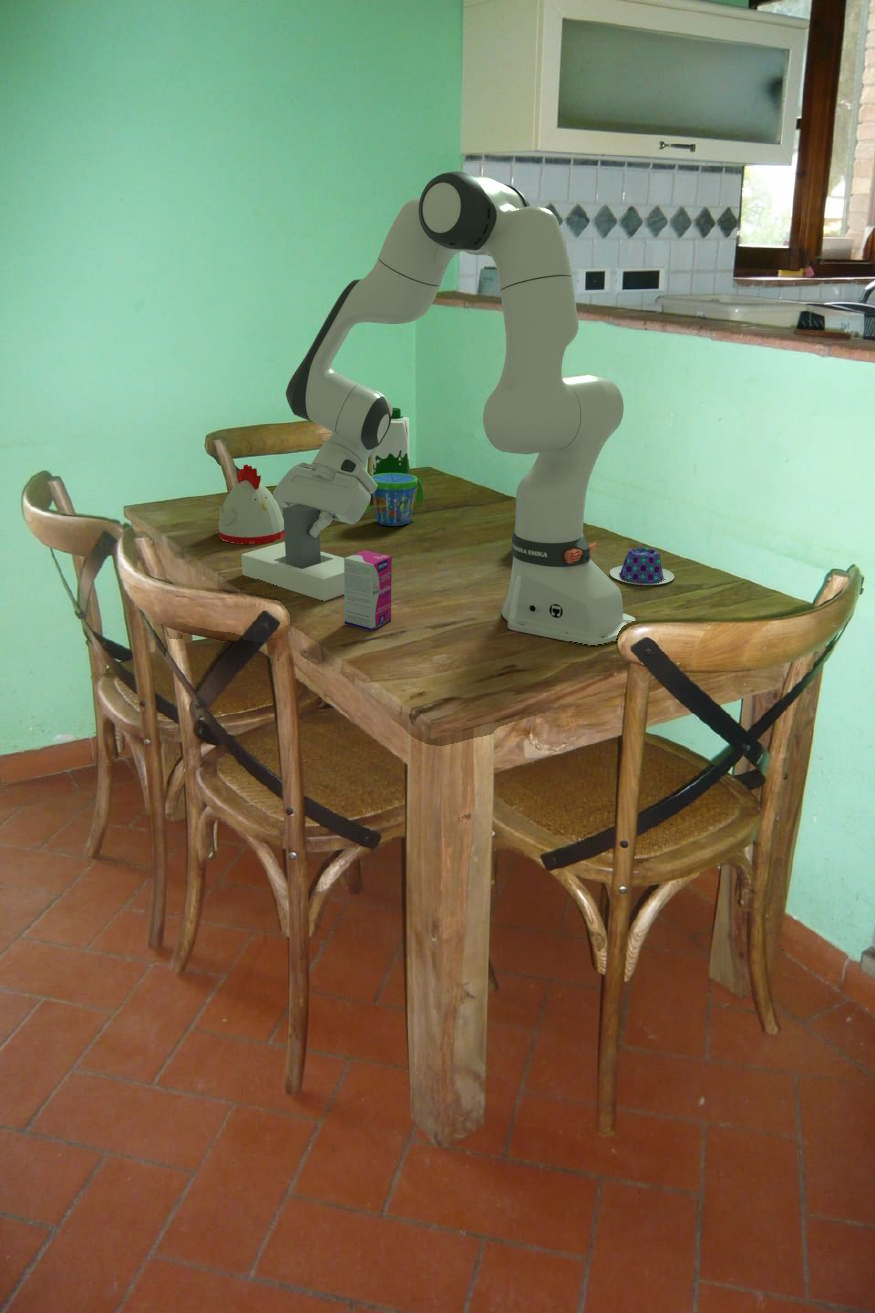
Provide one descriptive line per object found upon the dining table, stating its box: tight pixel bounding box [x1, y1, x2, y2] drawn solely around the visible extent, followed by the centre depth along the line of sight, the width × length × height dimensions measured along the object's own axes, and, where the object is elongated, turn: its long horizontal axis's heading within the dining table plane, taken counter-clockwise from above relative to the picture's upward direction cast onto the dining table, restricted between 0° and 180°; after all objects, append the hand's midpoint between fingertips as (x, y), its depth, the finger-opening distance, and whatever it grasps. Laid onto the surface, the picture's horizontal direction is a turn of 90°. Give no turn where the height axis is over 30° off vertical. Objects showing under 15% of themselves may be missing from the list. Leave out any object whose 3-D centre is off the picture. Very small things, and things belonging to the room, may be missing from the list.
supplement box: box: [343, 550, 393, 632], centre depth 162 cm, size 6×6×12 cm
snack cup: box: [364, 473, 425, 527], centre depth 218 cm, size 16×10×10 cm
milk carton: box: [372, 407, 411, 476], centre depth 241 cm, size 9×9×20 cm
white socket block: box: [240, 541, 345, 602], centre depth 183 cm, size 22×11×4 cm, turn 50°
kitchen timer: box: [218, 464, 285, 545], centre depth 207 cm, size 14×14×15 cm
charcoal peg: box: [282, 504, 321, 569], centre depth 180 cm, size 4×4×11 cm
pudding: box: [609, 547, 675, 586], centre depth 186 cm, size 12×12×5 cm
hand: (299, 532), depth 180 cm, fingers closed on charcoal peg, 4 cm apart
